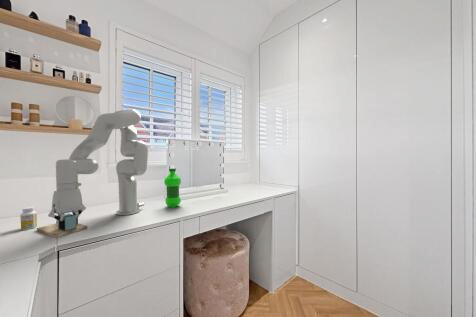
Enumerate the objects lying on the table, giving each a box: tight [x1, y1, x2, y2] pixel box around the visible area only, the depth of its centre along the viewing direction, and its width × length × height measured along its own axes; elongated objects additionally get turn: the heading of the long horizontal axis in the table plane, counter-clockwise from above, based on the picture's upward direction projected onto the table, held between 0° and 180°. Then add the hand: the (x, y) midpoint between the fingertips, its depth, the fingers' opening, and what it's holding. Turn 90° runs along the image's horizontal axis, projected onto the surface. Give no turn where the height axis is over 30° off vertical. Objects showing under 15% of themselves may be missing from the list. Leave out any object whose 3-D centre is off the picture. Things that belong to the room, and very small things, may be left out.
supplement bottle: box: [20, 206, 38, 231], centre depth 100 cm, size 5×5×10 cm
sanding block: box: [57, 213, 77, 231], centre depth 94 cm, size 7×4×6 cm, turn 62°
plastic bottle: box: [163, 167, 182, 208], centre depth 137 cm, size 10×10×25 cm
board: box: [36, 222, 88, 238], centre depth 97 cm, size 12×18×1 cm, turn 62°
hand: (68, 227), depth 94 cm, fingers closed on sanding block, 4 cm apart
